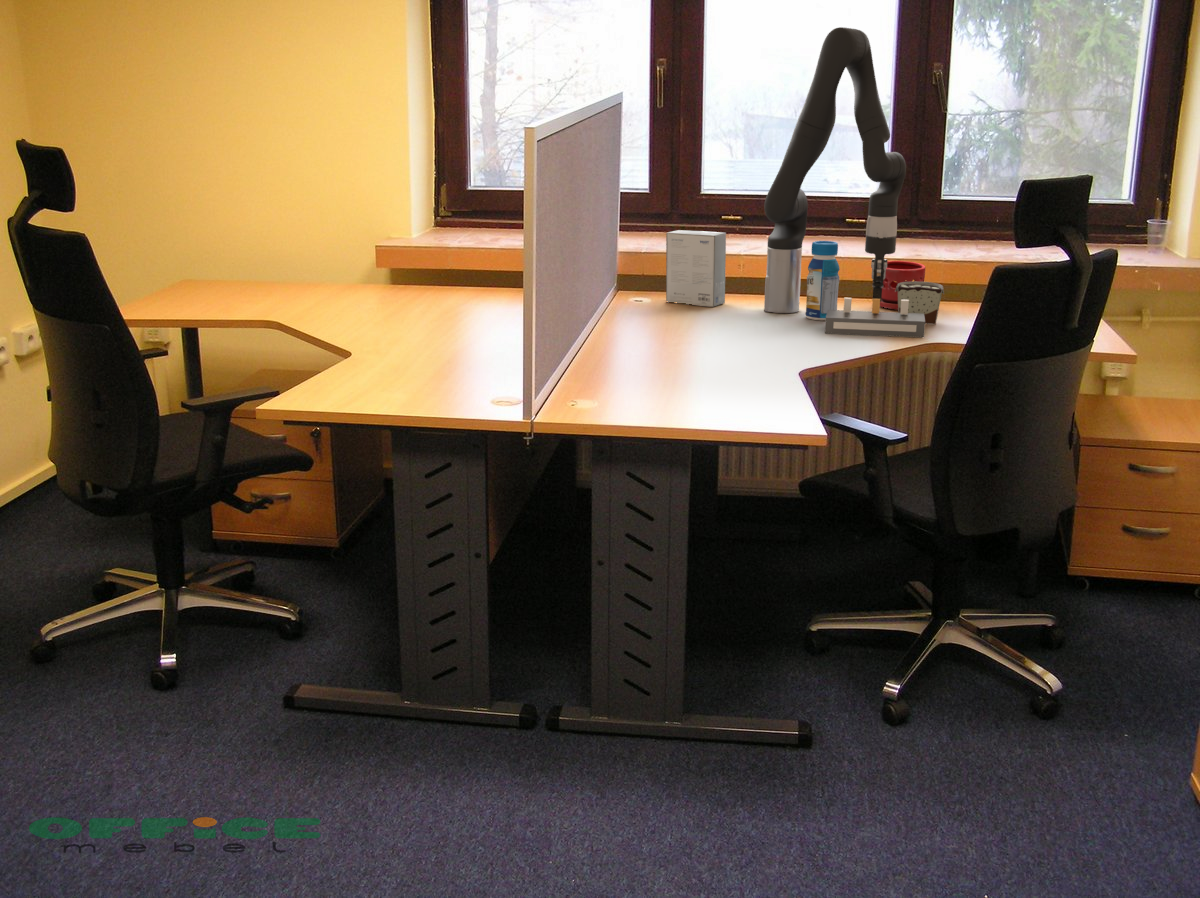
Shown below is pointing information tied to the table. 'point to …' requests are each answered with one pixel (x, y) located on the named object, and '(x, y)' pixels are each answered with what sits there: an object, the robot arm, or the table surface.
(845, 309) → the switch left
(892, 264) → the plant pot
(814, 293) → the beverage bottle
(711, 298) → the hard drive box
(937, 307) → the food container
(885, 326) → the breaker block
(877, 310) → the switch mid
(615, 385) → the table surface
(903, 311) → the switch right
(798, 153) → the robot arm
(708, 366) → the table surface
